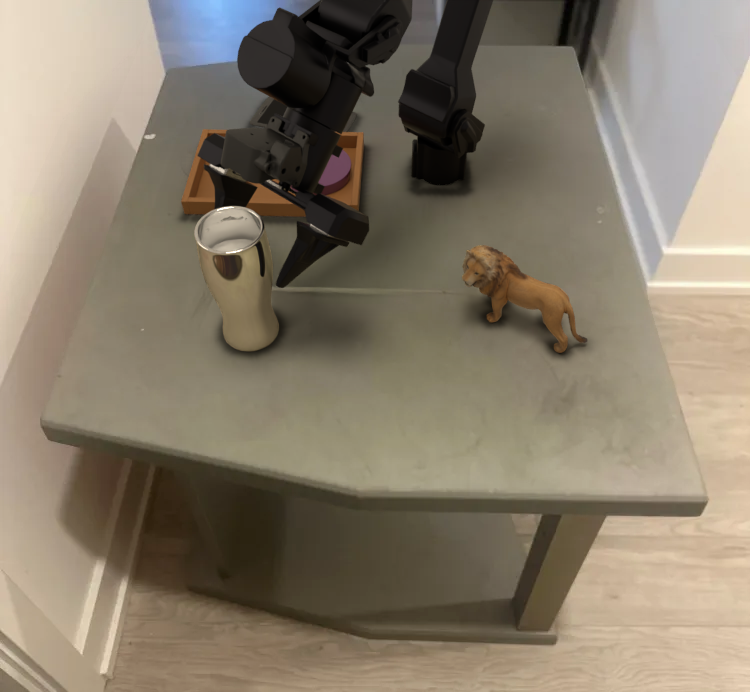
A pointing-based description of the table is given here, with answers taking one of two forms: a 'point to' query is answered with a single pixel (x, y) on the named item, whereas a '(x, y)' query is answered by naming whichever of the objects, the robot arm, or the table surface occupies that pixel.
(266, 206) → the tray
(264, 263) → the beer glass
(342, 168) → the plum disc
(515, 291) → the lion figurine
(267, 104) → the cell phone
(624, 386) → the table surface
